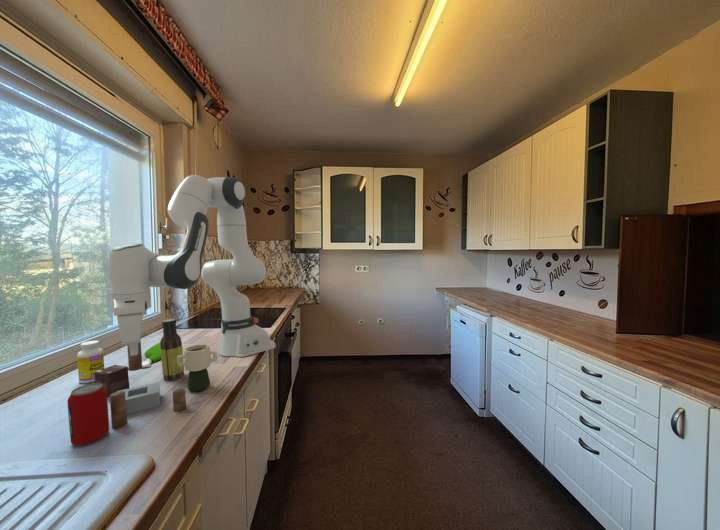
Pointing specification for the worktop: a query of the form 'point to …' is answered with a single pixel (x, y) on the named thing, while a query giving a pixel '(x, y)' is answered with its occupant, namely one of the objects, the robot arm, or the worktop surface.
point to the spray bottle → (152, 355)
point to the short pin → (179, 400)
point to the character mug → (197, 365)
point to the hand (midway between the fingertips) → (134, 352)
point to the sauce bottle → (171, 351)
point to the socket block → (142, 397)
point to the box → (113, 378)
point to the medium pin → (118, 409)
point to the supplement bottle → (89, 361)
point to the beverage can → (88, 414)
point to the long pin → (135, 359)
